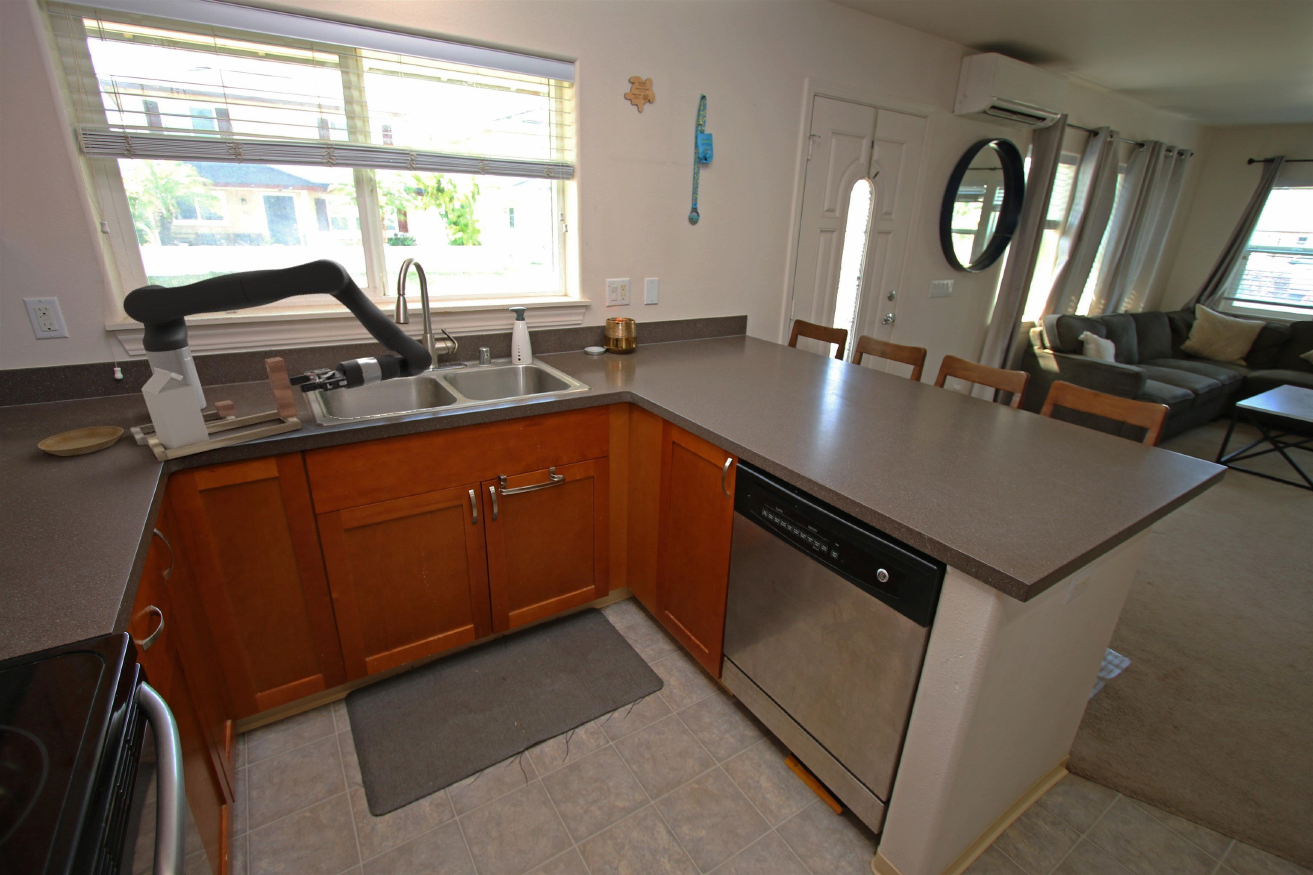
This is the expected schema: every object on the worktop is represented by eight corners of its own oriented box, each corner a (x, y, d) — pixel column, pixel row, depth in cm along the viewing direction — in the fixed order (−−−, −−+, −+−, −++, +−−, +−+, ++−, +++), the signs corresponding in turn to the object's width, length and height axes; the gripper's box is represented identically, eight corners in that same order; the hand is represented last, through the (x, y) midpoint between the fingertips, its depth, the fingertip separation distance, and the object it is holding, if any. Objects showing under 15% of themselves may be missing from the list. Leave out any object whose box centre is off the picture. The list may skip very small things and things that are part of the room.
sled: (148, 444, 138) (125, 376, 131) (288, 414, 158) (273, 353, 151) (159, 461, 129) (134, 388, 123) (305, 427, 149) (290, 363, 143)
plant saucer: (119, 431, 147) (115, 421, 146) (133, 446, 138) (130, 435, 137) (37, 448, 136) (33, 438, 135) (47, 466, 128) (43, 455, 127)
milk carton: (177, 457, 132) (150, 376, 125) (161, 450, 136) (135, 371, 128) (211, 446, 138) (188, 368, 131) (196, 440, 141) (172, 364, 134)
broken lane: (132, 434, 144) (125, 416, 142) (231, 414, 158) (226, 397, 156) (139, 445, 138) (132, 426, 136) (241, 423, 152) (236, 406, 150)
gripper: (346, 355, 165) (282, 366, 154) (367, 364, 156) (301, 376, 145) (352, 380, 168) (289, 393, 157) (372, 391, 159) (307, 405, 148)
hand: (295, 385), depth 151 cm, fingers open, 8 cm apart
